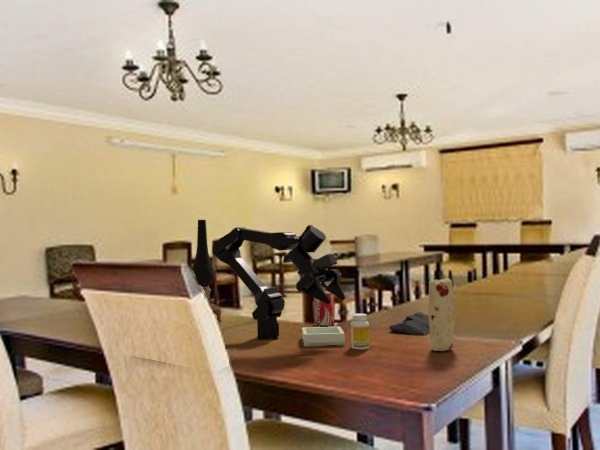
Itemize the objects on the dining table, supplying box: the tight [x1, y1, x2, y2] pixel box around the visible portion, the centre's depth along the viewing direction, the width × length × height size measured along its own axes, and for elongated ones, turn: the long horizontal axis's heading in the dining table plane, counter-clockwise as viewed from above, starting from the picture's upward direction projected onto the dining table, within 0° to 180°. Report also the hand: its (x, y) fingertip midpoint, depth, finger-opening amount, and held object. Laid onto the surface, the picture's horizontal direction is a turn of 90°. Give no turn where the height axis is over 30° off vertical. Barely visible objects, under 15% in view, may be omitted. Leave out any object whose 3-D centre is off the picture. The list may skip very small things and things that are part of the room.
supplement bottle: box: [350, 313, 371, 351], centre depth 157 cm, size 5×5×10 cm
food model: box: [427, 277, 456, 352], centre depth 152 cm, size 10×7×20 cm
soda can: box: [313, 290, 335, 327], centre depth 195 cm, size 7×7×12 cm
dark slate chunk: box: [388, 312, 430, 336], centre depth 185 cm, size 15×22×5 cm
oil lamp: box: [191, 219, 223, 324], centre depth 205 cm, size 14×15×40 cm
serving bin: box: [301, 325, 346, 347], centre depth 166 cm, size 12×12×4 cm
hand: (337, 301), depth 161 cm, fingers open, 9 cm apart
